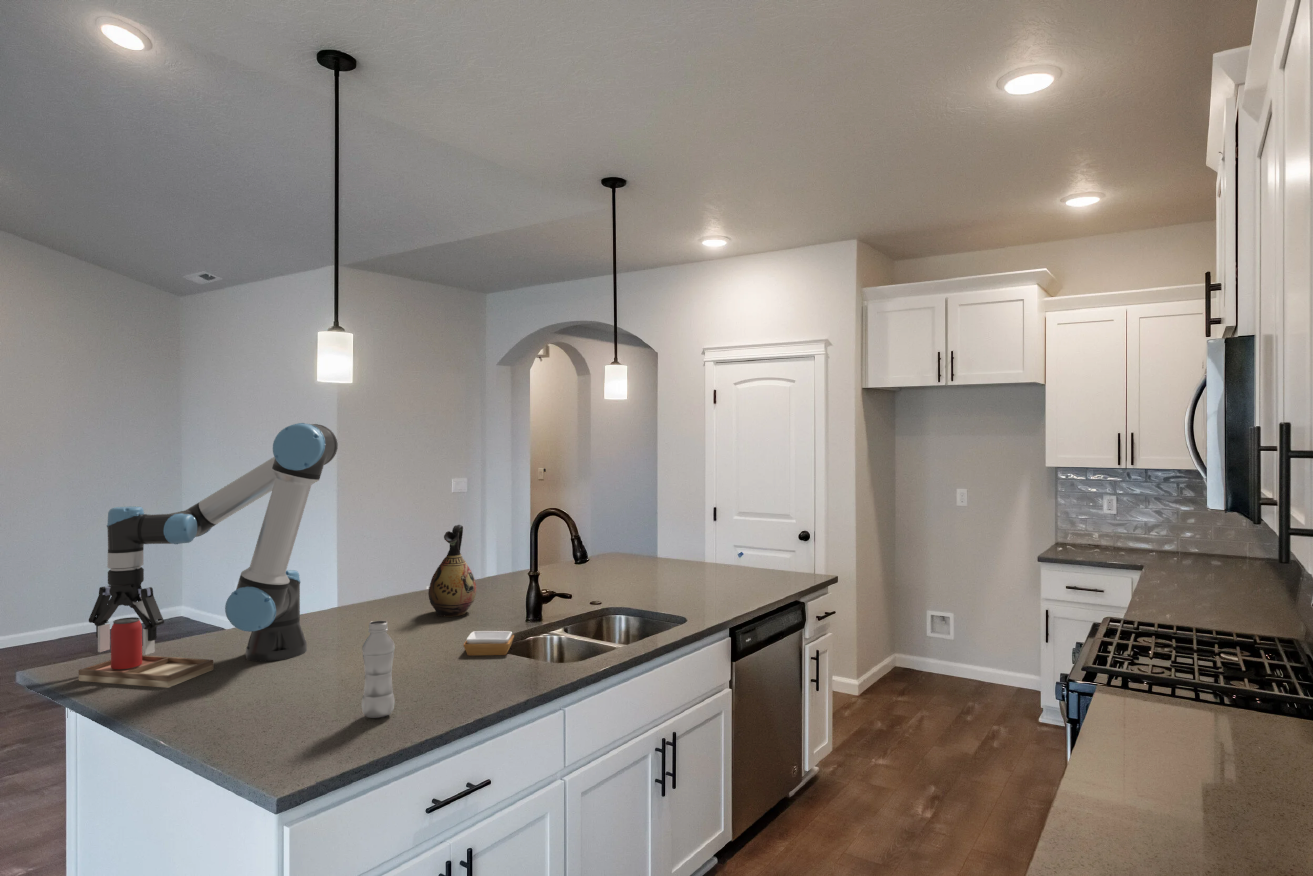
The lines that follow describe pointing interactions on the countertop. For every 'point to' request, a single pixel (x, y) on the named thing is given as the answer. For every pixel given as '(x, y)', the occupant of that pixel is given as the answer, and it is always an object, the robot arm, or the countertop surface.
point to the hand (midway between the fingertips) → (126, 652)
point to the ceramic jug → (452, 580)
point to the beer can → (126, 643)
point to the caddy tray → (149, 671)
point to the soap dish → (488, 642)
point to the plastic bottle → (378, 671)
